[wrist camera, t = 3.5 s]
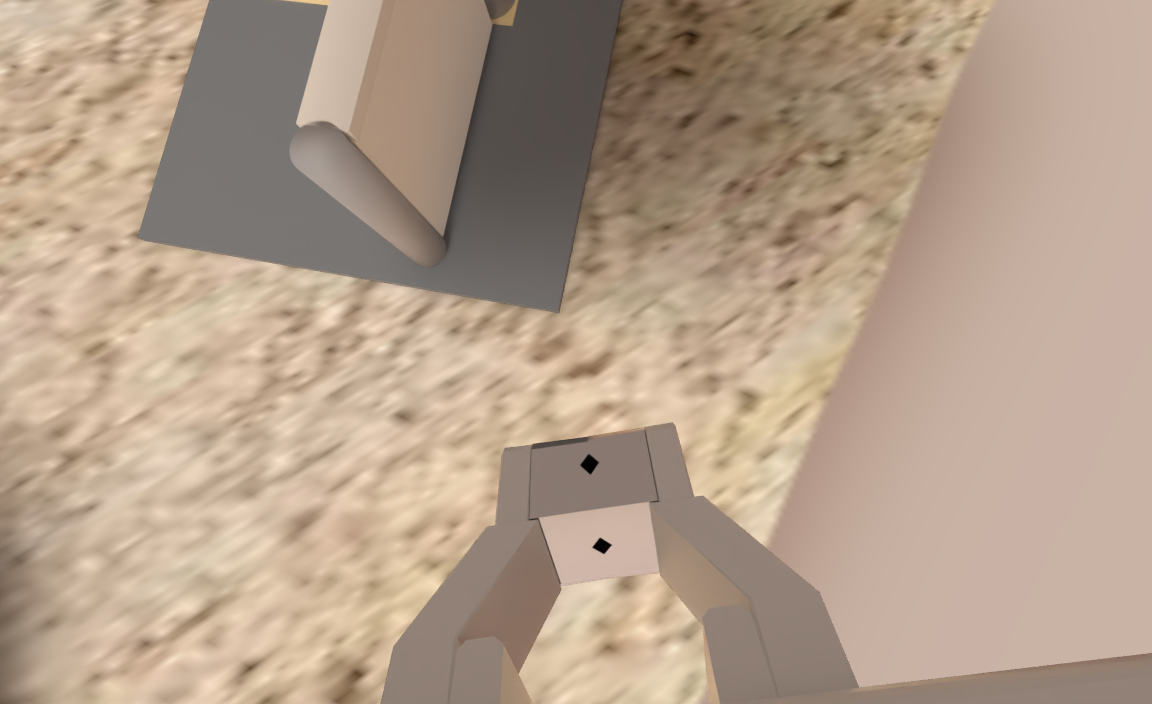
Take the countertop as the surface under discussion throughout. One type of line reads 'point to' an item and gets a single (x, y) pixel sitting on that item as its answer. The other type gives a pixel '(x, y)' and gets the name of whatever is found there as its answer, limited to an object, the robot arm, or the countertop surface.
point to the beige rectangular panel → (393, 113)
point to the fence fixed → (498, 7)
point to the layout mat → (327, 228)
